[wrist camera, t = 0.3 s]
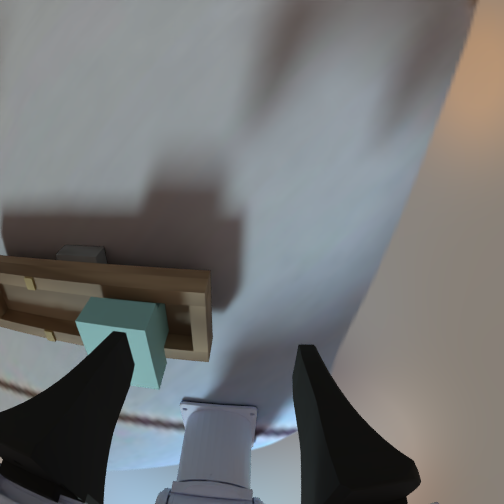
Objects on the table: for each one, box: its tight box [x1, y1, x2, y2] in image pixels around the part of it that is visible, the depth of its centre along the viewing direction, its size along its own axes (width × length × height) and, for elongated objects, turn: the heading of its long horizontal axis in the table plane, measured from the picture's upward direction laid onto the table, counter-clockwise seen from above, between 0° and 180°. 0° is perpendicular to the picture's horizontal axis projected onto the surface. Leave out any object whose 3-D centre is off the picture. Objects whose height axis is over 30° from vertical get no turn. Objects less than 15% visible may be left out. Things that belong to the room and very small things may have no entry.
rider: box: [75, 297, 169, 389], centre depth 19 cm, size 5×4×5 cm
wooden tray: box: [0, 245, 213, 362], centre depth 22 cm, size 7×20×4 cm, turn 87°
